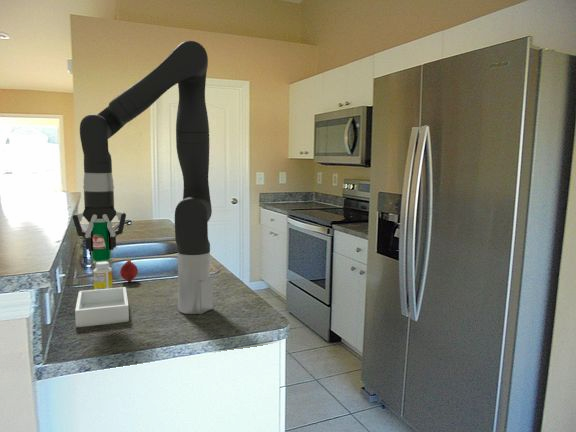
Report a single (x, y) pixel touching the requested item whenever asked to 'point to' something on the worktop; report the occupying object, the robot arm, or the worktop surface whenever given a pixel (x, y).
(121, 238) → the worktop surface
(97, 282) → the supplement bottle
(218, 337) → the worktop surface
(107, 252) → the soda can
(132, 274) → the onion
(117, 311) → the tote
